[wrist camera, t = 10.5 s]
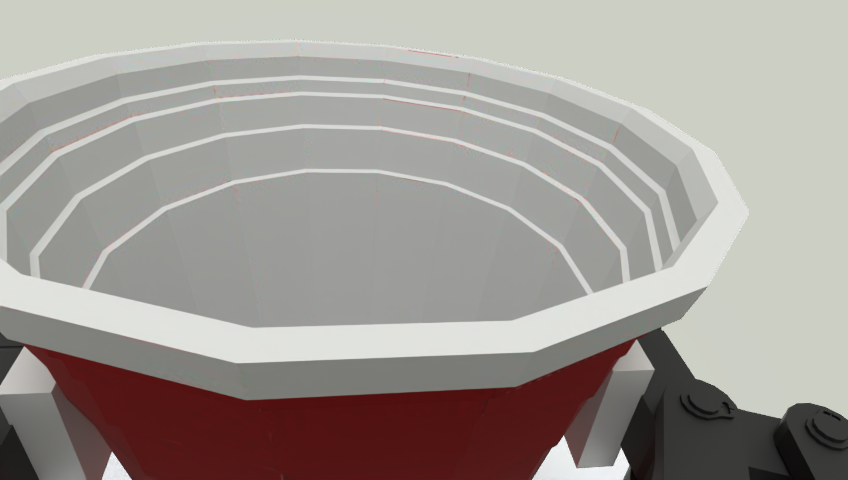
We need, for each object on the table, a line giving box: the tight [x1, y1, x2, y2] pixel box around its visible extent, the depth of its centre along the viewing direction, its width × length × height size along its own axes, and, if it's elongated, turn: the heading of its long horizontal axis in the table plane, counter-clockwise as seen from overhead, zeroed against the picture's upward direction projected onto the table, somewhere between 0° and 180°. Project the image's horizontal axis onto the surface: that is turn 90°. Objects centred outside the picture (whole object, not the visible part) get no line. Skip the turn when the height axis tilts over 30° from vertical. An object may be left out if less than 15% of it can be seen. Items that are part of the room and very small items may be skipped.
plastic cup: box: [0, 40, 750, 480], centre depth 12 cm, size 11×11×12 cm
